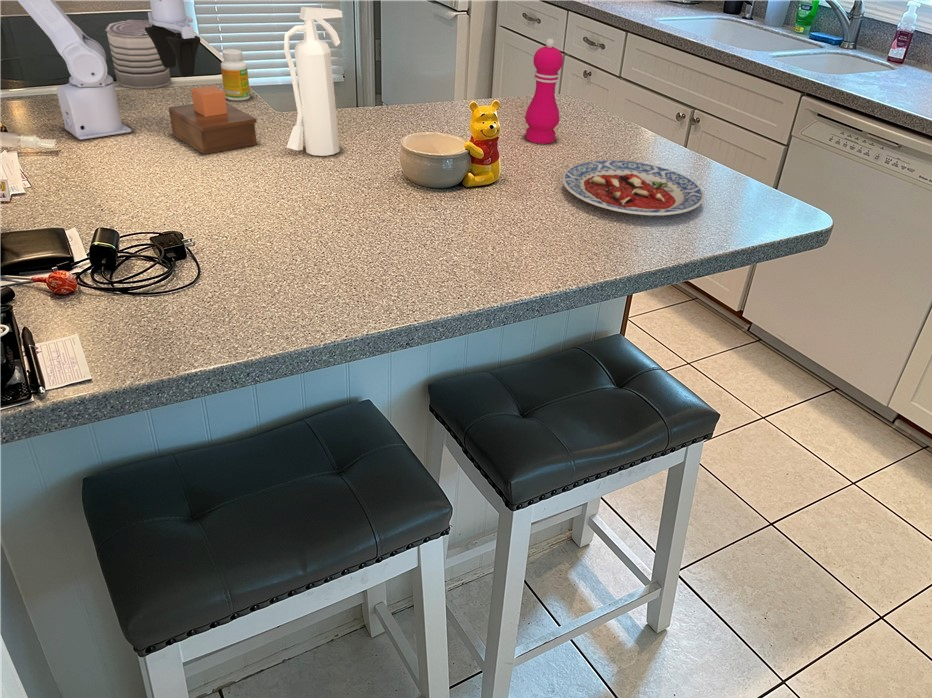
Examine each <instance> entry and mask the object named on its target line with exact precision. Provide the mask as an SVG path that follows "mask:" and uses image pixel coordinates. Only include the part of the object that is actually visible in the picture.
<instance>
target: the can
mask: <svg viewBox="0 0 932 698" xmlns="http://www.w3.org/2000/svg"><path fill="white" fill-rule="evenodd" d="M152 25H153V24H151V23H149V19H126V20H122V21H117V22H112V23H109V24H108V25H107V27H105V29H104V31H106V36H107V41H108V44H109V50H110V55H111V60H112V64H113V70H114V73H115V79H116V83H117V84H118V85H120V86H121V87H122V88H128V89H134V90H135V89H136V90H151V89H153V90H154V89H158V88H162V87H167V86H168V85H170V84H171V83H172V79H171V78H172V77H171V72H170V67H168V68H165V67H164V66H163V64H162V62H161V60H160V57H159V55H158V52H157V50H156V47H155V45H154V43H153V42H152V40H151V38H150V37H149V35H148V34H147V32H146V31H145V27H152Z"/></svg>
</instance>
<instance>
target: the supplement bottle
mask: <svg viewBox="0 0 932 698" xmlns="http://www.w3.org/2000/svg"><path fill="white" fill-rule="evenodd" d="M222 58H223V59H224V60H222V61H221V62H220V72H221V78H222V79H221V80H222V87H223V91H224V92H225V98H226V100H228V101H235V102H236V101H237V102H239V101H247V100H249V99H250V98H251V91H250V81H249V73H248V71H249V70H248V64H247V63H246V62H245V61H244V60H243V51H242V50H241V49H237V48H236V49H235V48H226V49H224V50H222Z"/></svg>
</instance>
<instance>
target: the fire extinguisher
mask: <svg viewBox="0 0 932 698" xmlns="http://www.w3.org/2000/svg"><path fill="white" fill-rule="evenodd" d="M339 18H343V11H342V10H340V9H338V8H325V7H309V6H301V7H300V13H299V19H300V20H302V21H303V24H300V25H294V26H293V27H292V28H290V29H289V30H288V31H286V32H285V33H284V37H283V38H284V39H283V41H284V42H283V52H284V55H285V58H286V63H287V65H288V68H289V72H290V76H291V77H290V78H291V83H292V91H293V95H294V100H295V105H296V111H297V117H296V123H295V125H294V126H293V127H292V130H291V133H290V136H289V139H288V142H287V144H286V148H287V149H290V150H294V151H303V149H304V147H305V152H306V153H307V154H309V155H311V156H318V157H319V156H321V157H325V156H331V155H335V154H337V153H340V150H341V149H340V139H339V130H338V118H337V106H336V96H335V95H336V94H335V86H334V75H333V65H332V53H331V48H330V46H329V44H328V42H326V41H324V40H322V39H320V37H319V33H318V30H317V25H316V22H317V23H318V24H320V25H321V26H322V28H323V29H324V30H325V31H326V32H327V34H328V36H329V38H330V40H331V42H332V45H333V46H335V47H338V46H339V45H340V44H341V41H340V37H339V35H338V32H337V31H336V30H335V28H334V27H332V25H331V24H330V23H328V22H327V21H326V19H339ZM324 19H325V20H324ZM315 21H316V22H315ZM298 32H300V33H301V32H303V39H301V40H299V41H298V42H296V43H295V47H294V61H295V64H294V61H293V58H292V55H291V52H290V51H291V49H290V43H291V42H290V38H291V37H292V36H294V35H295V34H296V33H298ZM304 145H305V146H304Z"/></svg>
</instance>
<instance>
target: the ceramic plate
mask: <svg viewBox="0 0 932 698" xmlns="http://www.w3.org/2000/svg"><path fill="white" fill-rule="evenodd" d="M561 179H562V184H563V186H564V187H565V189H566V190H567V191H568V192H569V193H570V194H571V195H574V196H575V197H576V198H578V199H580V200H582V201H584V202H586V203H589V204H592V205H594V206H595V207H599V208H603V209H607V210H610V211H614V212H619V213H624V214H631V215H640V216H670V215H671V216H672V215H678V214H682V213H687V212H690V211H692V210H694V209H696V208H698V207H700V205H701V204H702V203H703V202H704V199H705V193H704V191H703V189H702V188H701V187H700V185H698V183H696V182H695V181H693V180H692V179H690V178H688V177H687V176H685V175H683V174H681V173H679V172H676V171H674V170H671V169H668V168H665V167H661V166H657V165H654V164H649V163H644V162H637V161H629V160H617V159H616V160H615V159H613V160H612V159H607V160H604V159H603V160H592V161H586V162H582V163H579V164H578V163H577V164H576V165H573V166H571V167H569V168H568V169H566V171H564V172H563V174H562V177H561Z"/></svg>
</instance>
